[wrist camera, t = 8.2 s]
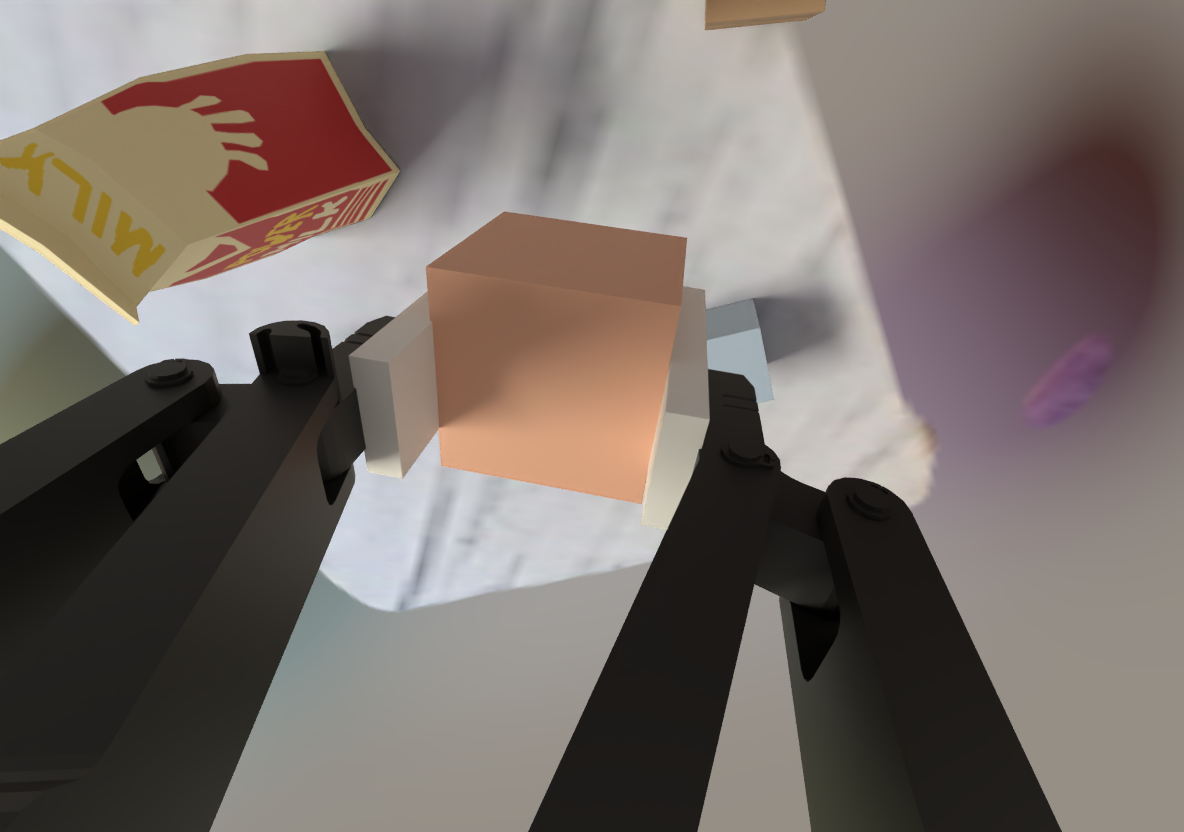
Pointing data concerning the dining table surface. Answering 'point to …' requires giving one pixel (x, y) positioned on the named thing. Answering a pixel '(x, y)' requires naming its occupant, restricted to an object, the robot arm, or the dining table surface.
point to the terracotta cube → (555, 351)
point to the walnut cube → (758, 12)
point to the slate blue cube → (738, 345)
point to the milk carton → (192, 174)
